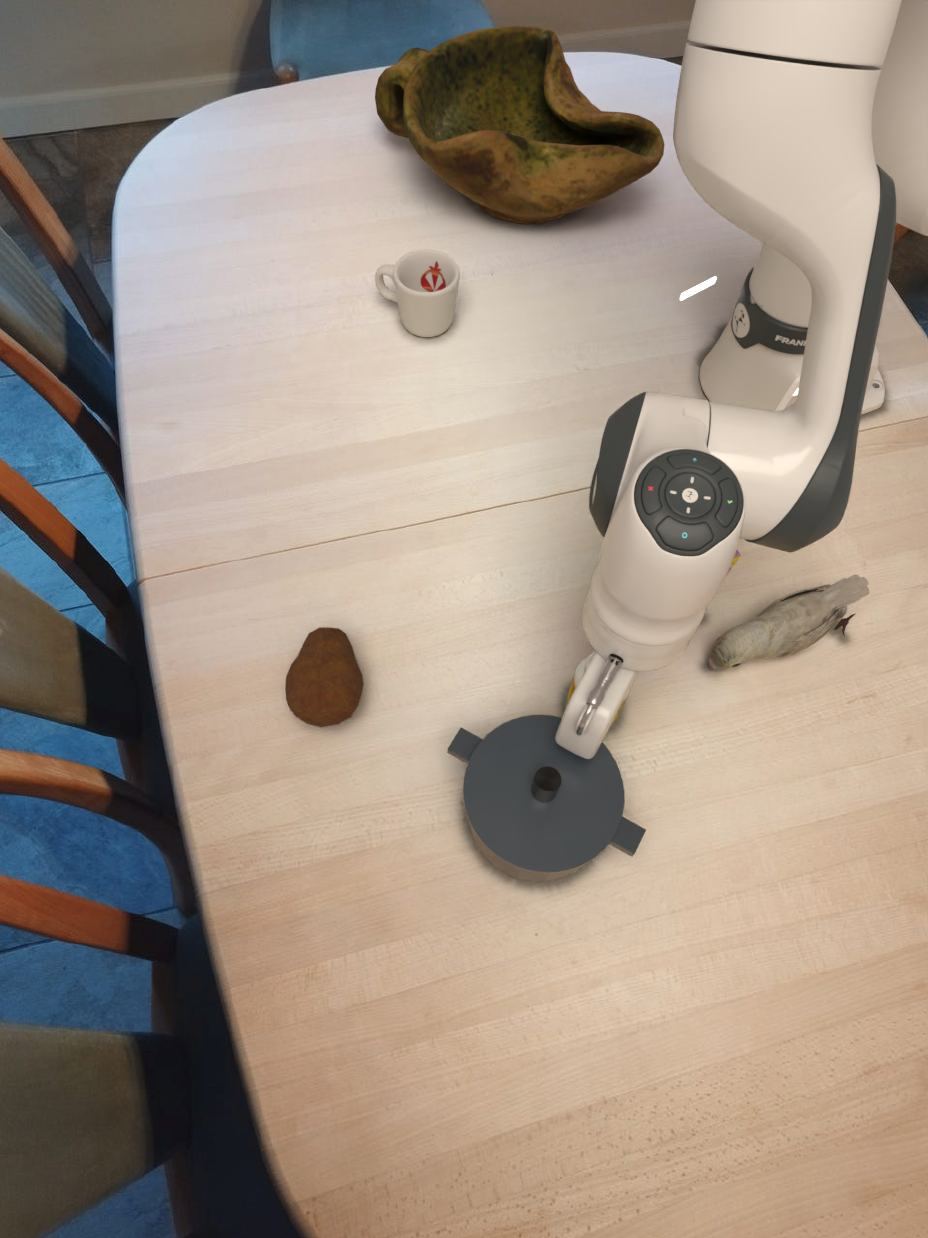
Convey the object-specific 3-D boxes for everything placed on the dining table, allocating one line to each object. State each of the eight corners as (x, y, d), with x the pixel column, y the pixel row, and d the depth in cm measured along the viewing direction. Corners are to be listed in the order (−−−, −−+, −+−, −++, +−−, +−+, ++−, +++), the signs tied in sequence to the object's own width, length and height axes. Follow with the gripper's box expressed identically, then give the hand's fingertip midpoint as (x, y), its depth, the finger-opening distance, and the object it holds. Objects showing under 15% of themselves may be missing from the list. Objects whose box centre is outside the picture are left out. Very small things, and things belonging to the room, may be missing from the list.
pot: (484, 713, 86) (489, 678, 78) (650, 804, 82) (672, 776, 74) (418, 822, 80) (416, 796, 73) (592, 925, 76) (609, 908, 69)
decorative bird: (693, 648, 90) (714, 613, 83) (821, 595, 93) (850, 558, 87) (721, 692, 87) (745, 660, 81) (851, 636, 91) (883, 601, 84)
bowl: (648, 120, 131) (664, 10, 118) (655, 245, 116) (673, 135, 103) (392, 120, 134) (379, 13, 121) (367, 242, 119) (349, 135, 106)
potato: (362, 647, 89) (355, 610, 82) (369, 737, 84) (363, 706, 77) (289, 654, 88) (276, 617, 81) (292, 745, 83) (279, 715, 76)
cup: (365, 327, 110) (360, 275, 103) (391, 287, 113) (388, 234, 106) (443, 352, 108) (444, 302, 101) (467, 311, 112) (469, 259, 105)
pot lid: (511, 692, 78) (515, 673, 74) (648, 768, 75) (659, 752, 71) (432, 820, 72) (432, 807, 69) (577, 907, 69) (584, 898, 66)
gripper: (622, 739, 64) (594, 792, 76) (724, 536, 72) (684, 613, 84) (545, 699, 65) (530, 758, 77) (654, 504, 73) (625, 585, 86)
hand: (611, 681), depth 81 cm, fingers open, 8 cm apart
